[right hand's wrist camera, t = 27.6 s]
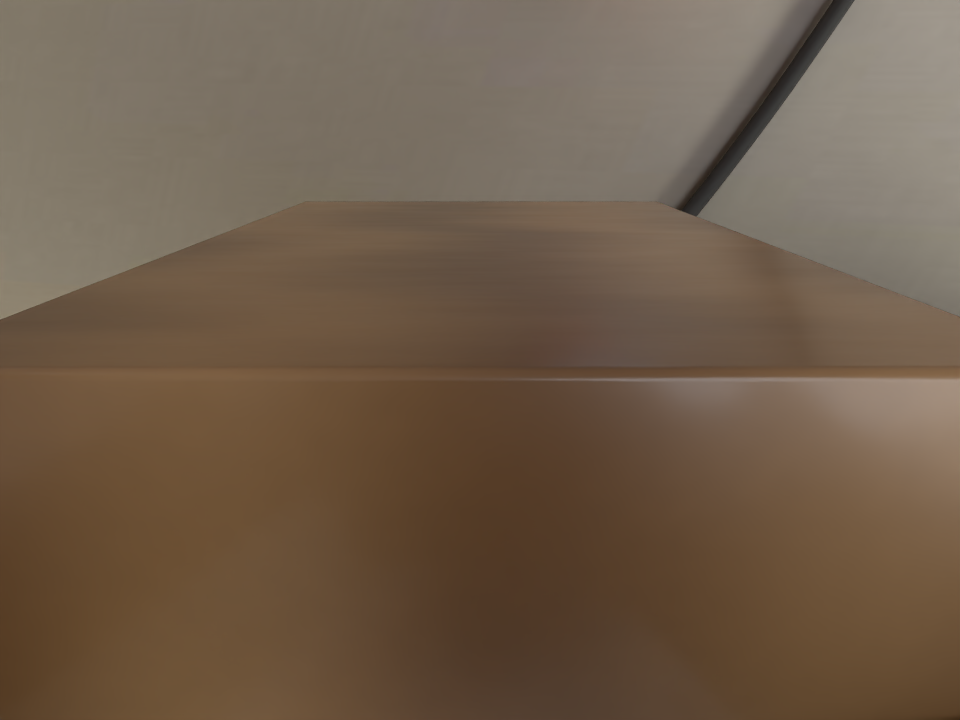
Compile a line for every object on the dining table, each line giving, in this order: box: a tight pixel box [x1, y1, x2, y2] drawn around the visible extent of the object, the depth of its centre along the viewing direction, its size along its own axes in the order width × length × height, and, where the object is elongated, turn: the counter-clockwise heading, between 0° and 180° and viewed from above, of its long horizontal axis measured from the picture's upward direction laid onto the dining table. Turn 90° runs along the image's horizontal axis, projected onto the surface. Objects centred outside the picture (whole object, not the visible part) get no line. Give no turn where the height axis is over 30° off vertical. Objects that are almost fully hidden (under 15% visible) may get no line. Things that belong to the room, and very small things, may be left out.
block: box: [0, 202, 960, 720], centre depth 11 cm, size 9×9×12 cm
